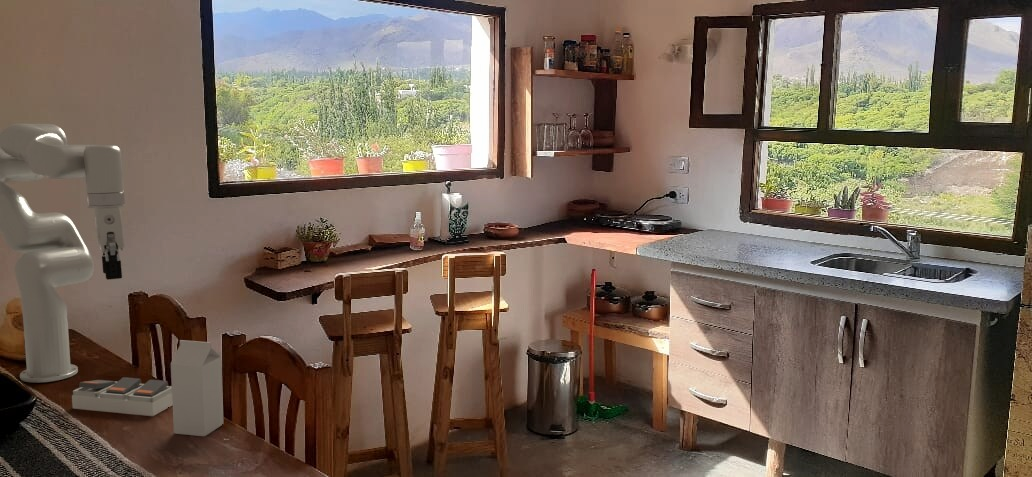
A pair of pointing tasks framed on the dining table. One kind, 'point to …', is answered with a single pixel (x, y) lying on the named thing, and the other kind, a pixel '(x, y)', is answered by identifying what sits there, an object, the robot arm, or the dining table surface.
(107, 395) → the rocker switch box
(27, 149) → the robot arm
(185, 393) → the milk carton
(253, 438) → the dining table surface
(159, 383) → the rocker
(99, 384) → the rocker
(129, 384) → the rocker
